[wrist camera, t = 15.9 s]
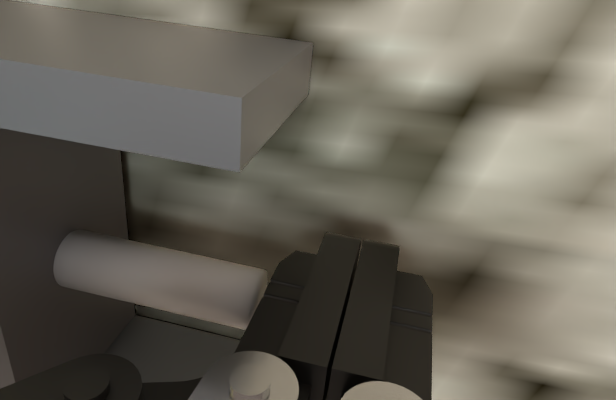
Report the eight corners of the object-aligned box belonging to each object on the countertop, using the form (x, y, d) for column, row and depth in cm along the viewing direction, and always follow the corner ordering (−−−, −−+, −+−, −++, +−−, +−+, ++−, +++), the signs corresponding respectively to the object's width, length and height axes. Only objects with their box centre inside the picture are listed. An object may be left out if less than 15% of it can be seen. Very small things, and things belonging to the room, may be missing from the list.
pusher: (101, 307, 14) (-13, 429, 10) (71, 74, 11) (-105, 137, 7) (277, 349, 13) (218, 497, 9) (296, 111, 10) (220, 200, 6)
